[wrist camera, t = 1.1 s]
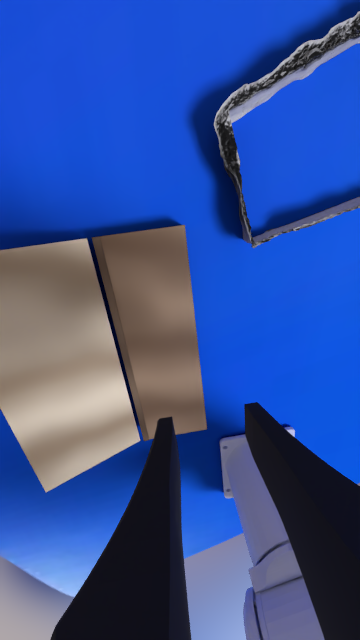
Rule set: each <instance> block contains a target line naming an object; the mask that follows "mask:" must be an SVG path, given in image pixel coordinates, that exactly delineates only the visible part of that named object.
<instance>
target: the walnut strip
mask: <svg viewBox="0 0 360 640" xmlns="http://www.w3.org/2000/svg"><path fill="white" fill-rule="evenodd" d="M92 241H93V245H94V248H95V252H96V256H97V260H98V264H99V268H100V272H101V276H102V280H103V283H104V287H105V291H106V295H107V299H108V303H109V307H110V311H111V315H112V319H113V322H114V326H115V330H116V334H117V338H118V342H119V346H120V350H121V354H122V358H123V361H124V365H125V369H126V373H127V377H128V381H129V385H130V389H131V393H132V397H133V400H134V404H135V408H136V412H137V416H138V420H139V424H140V428H141V432H142V436H143V439H144V441H147V440H149V439H153V438H154V435H155V431H156V427H157V421H158V420H159V419H160V418H166V417H172V418H173V424H174V429H175V435H177V434H183V433H189V432H195V431H200V430H206V429H207V424H206V415H205V406H204V397H203V388H202V379H201V369H200V360H199V351H198V342H197V333H196V324H195V315H194V306H193V297H192V288H191V278H190V269H189V260H188V251H187V242H186V233H185V225H180V226H172V227H165V228H158V229H150V230H143V231H136V232H129V233H121V234H114V235H107V236H99V237H93V238H92Z"/></svg>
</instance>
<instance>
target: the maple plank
mask: <svg viewBox="0 0 360 640" xmlns="http://www.w3.org/2000/svg"><path fill="white" fill-rule="evenodd" d="M0 409H1V410H2V412H3V414H4V416H5V418H6V420H7V421H8V423H9V425H10V427H11V429H12V431H13V432H14V434H15V436H16V438H17V440H18V442H19V444H20V445H21V447H22V449H23V451H24V453H25V455H26V456H27V458H28V460H29V462H30V464H31V466H32V468H33V469H34V471H35V473H36V475H37V477H38V479H39V480H40V482H41V484H42V486H43V488H44V490H45V491H46V492H48V491H50V490H51V489H53V488H55V487H57V486H59V485H61V484H62V483H64V482H66V481H68V480H70V479H71V478H73V477H75V476H77V475H79V474H81V473H82V472H84V471H86V470H88V469H90V468H91V467H93V466H95V465H97V464H99V463H100V462H102V461H104V460H106V459H108V458H110V457H111V456H113V455H115V454H117V453H119V452H120V451H122V450H124V449H126V448H128V447H130V446H131V445H133V444H135V443H137V442H139V441H140V437H139V433H138V430H137V426H136V422H135V418H134V415H133V411H132V407H131V403H130V399H129V396H128V392H127V388H126V384H125V380H124V377H123V373H122V369H121V365H120V362H119V358H118V354H117V350H116V346H115V343H114V339H113V335H112V331H111V328H110V324H109V320H108V316H107V312H106V309H105V305H104V301H103V297H102V293H101V290H100V286H99V282H98V278H97V275H96V271H95V267H94V263H93V259H92V256H91V252H90V248H89V244H88V240H87V238H85V239H78V240H70V241H63V242H56V243H49V244H42V245H34V246H27V247H20V248H13V249H6V250H0Z"/></svg>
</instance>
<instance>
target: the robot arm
mask: <svg viewBox="0 0 360 640" xmlns="http://www.w3.org/2000/svg"><path fill="white" fill-rule="evenodd" d="M294 436H295V430H294V429H293V428H292V427H285V428H284V427H282V426H281V425H280V424H279V423H278V422H277V421H276V420H275V419H274V418H273V417H272V416H271V415H270V414H269V413H268V412H267V411H266V410H265V409H264V408H263V407H262V406H261V405H260V404H259V403H257V402H256V403H250V404H245V434H244V435H238V436H233V437H227V438H222V439H221V440H220V453H221V465H222V477H223V488H224V496H225V497H226V498H233V497H234V500H235V504H236V507H237V511H238V514H239V518H240V522H241V525H242V529H243V532H244V536H245V539H246V543H247V546H248V550H249V553H250V557H251V559H252V562H253V566H254V567H252V568H251V569H249V574H250V577H251V581H252V585H253V587H251V588H249V589H247V591H246V597H245V603H244V611H243V614H244V626H245V633H246V639H247V640H360V486H358V485H357V484H355V483H354V482H352V481H351V480H350V479H348V478H347V477H345V476H344V475H342V474H341V473H339V472H338V471H337V470H335V469H334V468H332V467H331V466H330V465H328V464H327V463H326V462H324V461H323V460H322V459H320V458H319V457H318V456H317V455H315V454H314V453H313V452H312V451H310V450H309V449H308V448H307V447H305V446H304V445H303V444H302V443H301V442H299V441H298V440H297V439H296V438H295V437H294ZM186 591H187V590H186V580H185V569H184V558H183V547H182V530H181V480H180V463H179V454H178V446H177V440H176V435H175V429H174V424H173V418H172V417H166V418H160V419H159V420H158V421H157V427H156V431H155V435H154V439H153V442H152V446H151V449H150V452H149V455H148V458H147V461H146V463H145V466H144V469H143V471H142V474H141V476H140V479H139V481H138V484H137V486H136V488H135V491H134V493H133V495H132V497H131V500H130V502H129V504H128V506H127V508H126V510H125V512H124V514H123V516H122V518H121V520H120V522H119V524H118V526H117V528H116V530H115V531H114V533H113V535H112V537H111V539H110V541H109V542H108V544H107V546H106V548H105V549H104V551H103V553H102V554H101V556H100V558H99V559H98V561H97V563H96V564H95V566H94V568H93V569H92V571H91V573H90V575H89V576H88V578H87V579H86V581H85V582H84V584H83V586H82V587H81V589H80V590H79V592H78V593H77V595H76V596H75V598H74V599H73V601H72V603H71V604H70V605H69V607H68V608H67V610H66V612H65V613H64V614H63V616H62V618H61V619H60V620H59V622H58V624H57V625H56V627H55V629H54V632H53V634H52V637H51V640H191V633H190V622H189V612H188V602H187V592H186Z"/></svg>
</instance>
